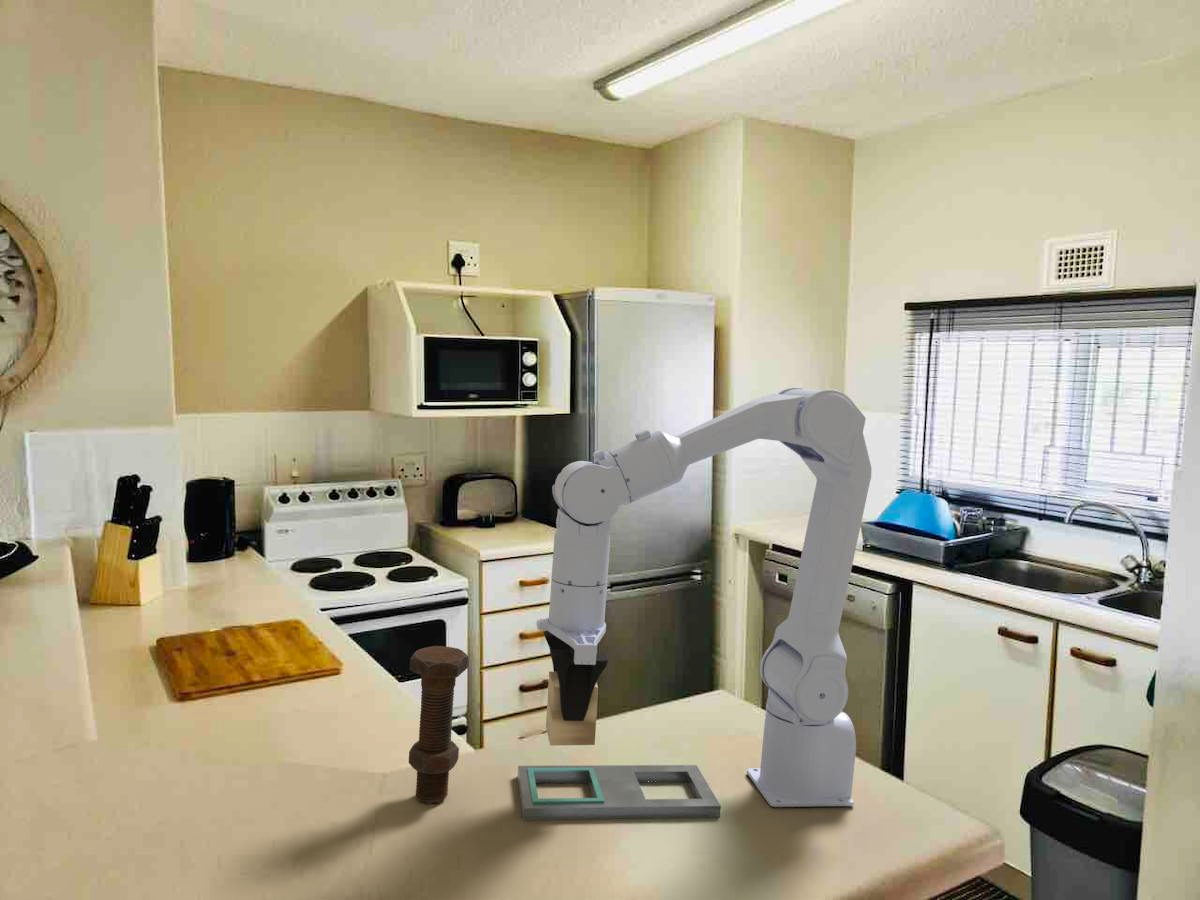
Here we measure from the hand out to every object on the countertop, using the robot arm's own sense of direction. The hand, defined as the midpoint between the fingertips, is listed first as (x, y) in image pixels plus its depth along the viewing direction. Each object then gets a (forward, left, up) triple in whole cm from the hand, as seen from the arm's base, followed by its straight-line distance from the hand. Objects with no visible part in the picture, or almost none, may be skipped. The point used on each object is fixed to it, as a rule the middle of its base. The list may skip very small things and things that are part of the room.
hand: (570, 709), depth 87 cm
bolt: (+14, 0, -10) cm, 17 cm away
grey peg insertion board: (-5, 0, -9) cm, 11 cm away
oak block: (0, 0, -3) cm, 3 cm away
